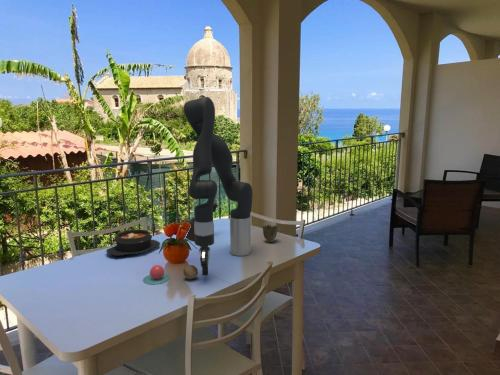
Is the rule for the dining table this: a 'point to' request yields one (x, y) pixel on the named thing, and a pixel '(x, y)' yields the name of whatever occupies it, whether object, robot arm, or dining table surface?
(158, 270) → the object ball
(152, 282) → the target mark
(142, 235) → the casserole
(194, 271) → the brown ball
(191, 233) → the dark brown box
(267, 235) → the cup
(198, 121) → the robot arm
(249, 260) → the dining table surface
